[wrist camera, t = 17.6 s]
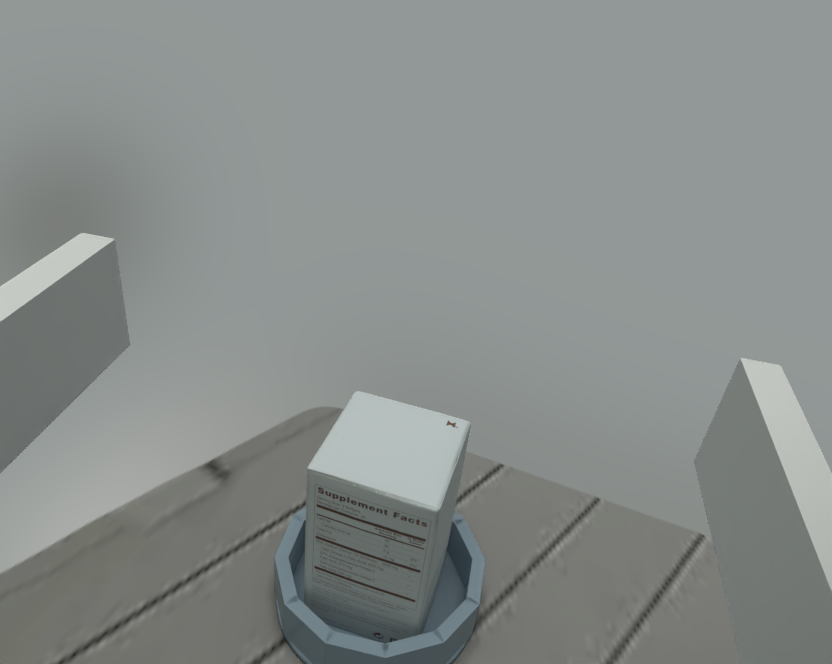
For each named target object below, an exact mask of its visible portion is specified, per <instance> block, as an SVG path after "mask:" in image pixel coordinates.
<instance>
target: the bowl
mask: <svg viewBox="0 0 832 664" xmlns="http://www.w3.org/2000/svg"><path fill="white" fill-rule="evenodd" d="M305 531H306V507H305V508H303V509H302V510H301V511H299V512H298V513H296V514H295V515H293V517H292V519H291V522H290V524H289V526H288V528H287V530H286V533H285V535H284V537H283V539H282V541H281V544H280V546H279V548H278V550H277V553H276V555H275V557H274V561H275V592H276V607H277V616H278V620H279V624H280V628H281V630H282V633H283V635H284V637H285V639H286V641H287V643H288V644H289V646H290V648H291V649H292V651H293V652H294V653H295V654H296V656H297V657H298V658H299V659H300V660H301V661H302V662H303V663H304V664H452V663H453V662H454V661H455V660H456V658H457V657H458V656H459V654H460V653H461V652H462V651H463V649H464V647H465V645H466V643H467V642H468V640H469V638H470V636H471V635H472V632H473V629H474V625H475V621H476V617H477V613H478V609H479V605H480V597H481V589H482V581H483V573H484V565H485V558H484V556H483V554H482V552H481V550H480V548H479V546H478V544H477V542H476V540H475V538H474V536H473V534H472V532H471V530H470V528H469V526H468V524H467V522H466V520H465V518H463V517H462V516H460V515H459V514H458V513H456V512H455V511H454V515H453V520H452V525H451V530H450V536H449V541H448V546H447V551H446V557H445V563H444V566H443V569H442V573H441V576H440V579H439V583H438V586H437V589H436V593H435V596H434V599H433V602H432V605H431V608H430V611H429V614H428V617H427V620H426V623H425V626H424V629H423V632H422V634H421V635H417V636H413V637H409V638H405V639H401V640H397V641H393V642H390V643H386V644H385V643H381V642H379V641H375V640H373V639H370V638H367V637H364V636H361V635H358V634H356V633H352V632H350V631H347V630H344V629H341V628H338V627H335V626H333V625H330V624H327V623H324V622H323V621H322V620H321V619H320V618H319V617H318V616H317V615H316V614H314V613H313V612H312V611H311V610H310V609H309V608H308V607H307V606H306V605H305V604H304V575H305Z"/></svg>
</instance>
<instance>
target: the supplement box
mask: <svg viewBox="0 0 832 664" xmlns="http://www.w3.org/2000/svg"><path fill="white" fill-rule="evenodd" d="M470 426H471V423H470V422H468V421H465V420H462V419H459V418H456V417H453V416H449V415H446V414H442V413H438V412H435V411H431V410H427V409H423V408H420V407H416V406H412V405H409V404H405V403H402V402H398V401H394V400H390V399H386V398H383V397H380V396H376V395H373V394H368V393H364V392H359V391H356V392H355V393H354V394H353V396H352V397H351V399H350V401H349V402H348V404H347V405H346V407H345V408H344V410H343V411H342V413H341V415H340V416H339V418H338V419H337V421H336V423H335V424H334V426H333V427H332V429H331V431H330V432H329V434H328V435H327V437H326V439H325V440H324V442H323V443H322V445H321V447H320V448H319V450H318V452H317V453H316V455H315V456H314V458H313V460H312V461H311V463H310V464H309V466H308V468H307V497H306V531H305V575H304V604H305V605H306V606H307V607H308V608H309V609H310V610H311V611H312V612H313V613H314V614H316V615H317V616H318V617H319V618H320V619H321V620H322V621H323V622H324V623H327V624H330V625H333V626H335V627H338V628H341V629H344V630H347V631H350V632H352V633H356V634H358V635H361V636H364V637H367V638H370V639H373V640H375V641H379V642H381V643H385V644H386V643H390V642H393V641H397V640H401V639H405V638H409V637H413V636H417V635H421V634H422V632H423V629H424V626H425V623H426V620H427V617H428V614H429V611H430V608H431V605H432V602H433V599H434V596H435V593H436V589H437V586H438V583H439V579H440V576H441V573H442V569H443V566H444V563H445V557H446V551H447V546H448V541H449V536H450V530H451V525H452V520H453V515H454V510H455V504H456V499H457V494H458V489H459V483H460V478H461V473H462V468H463V463H464V458H465V452H466V447H467V442H468V437H469V431H470Z"/></svg>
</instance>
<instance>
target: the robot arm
mask: <svg viewBox="0 0 832 664" xmlns="http://www.w3.org/2000/svg"><path fill="white" fill-rule="evenodd" d="M129 345H130V341H129V334H128V327H127V320H126V313H125V306H124V299H123V292H122V285H121V279H120V271H119V265H118V257H117V251H116V243H115V239H112V238H107V237H101V236H96V235H91V234H85V233H81V234H79V235H78V236H76V237H75V238H73V239H72V240H70V241H69V242H67V243H66V244H64V245H63V246H61V247H60V248H58V249H57V250H55V251H54V252H52V253H51V254H49V255H47V256H46V257H45V258H43V259H41V260H40V261H38V262H37V263H35V264H34V265H32V266H31V267H29V268H28V269H26V270H25V271H23V272H22V273H20V274H19V275H17V276H16V277H14V278H13V279H11V280H10V281H8V282H6V283H5V284H3V285H2V286H0V473H1V472H2V471H3V470H4V469H5V468H6V467H7V466H8V465H9V464H10V463H11V462H12V461H13V460H14V459H15V458H16V457H17V456H18V455H19V454H20V453H21V452H22V451H23V450H24V449H25V448H26V447H27V446H28V445H29V444H30V443H31V442H32V441H33V440H34V439H35V438H36V437H37V436H38V435H40V433H41V432H43V430H44V429H46V427H48V426H49V425H50V424H51V423H52V421H54V420H55V419H56V418H57V417H58V416H59V415H60V413H62V412H63V411H64V410H65V409H66V408H67V407H68V406H69V405H70V404H71V403H72V402H73V401H74V400H75V399H76V398H77V397H78V396H79V395H80V394H81V393H82V392H83V391H84V390H85V389H86V388H87V387H88V386H89V385H90V384H91V383H92V382H93V381H94V380H95V379H96V378H97V377H98V376H99V375H100V374H101V373H102V372H103V371H104V370H105V369H106V368H107V367H108V366H109V365H110V364H111V363H112V362H113V361H114V360H115V359H116V358H117V357H118V356H119V355H120V354H121V353H122V352H123V351H124V350H125V349H126V348H128V346H129ZM694 463H695V467H696V472H697V476H698V481H699V485H700V489H701V493H702V498H703V502H704V506H705V510H706V515H707V519H708V524H709V528H710V532H711V536H712V541H713V545H714V549H715V554H716V558H717V562H718V567H719V571H720V575H721V579H722V584H723V588H724V592H725V597H726V601H727V605H728V610H729V614H730V618H731V622H732V627H733V631H734V635H735V640H736V644H737V648H738V653H739V657H740V661H741V664H832V473H831V471H830V470H829V467H828V465H827V463H826V461H825V458H824V456H823V454H822V452H821V450H820V448H819V446H818V444H817V441H816V439H815V437H814V435H813V433H812V431H811V429H810V427H809V425H808V422H807V420H806V418H805V416H804V414H803V412H802V410H801V408H800V406H799V404H798V401H797V399H796V397H795V395H794V393H793V391H792V389H791V387H790V384H789V382H788V380H787V378H786V376H785V374H784V372H783V370H782V368H781V366H780V365H775V364H770V363H765V362H760V361H754V360H749V359H744V358H740V359H739V362H738V364H737V366H736V368H735V371H734V373H733V375H732V378H731V380H730V382H729V384H728V386H727V388H726V391H725V393H724V395H723V398H722V400H721V402H720V404H719V406H718V409H717V411H716V413H715V415H714V418H713V420H712V422H711V424H710V426H709V429H708V431H707V433H706V436H705V438H704V440H703V442H702V444H701V446H700V449H699V451H698V453H697V455H696V458H695V460H694Z"/></svg>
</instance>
